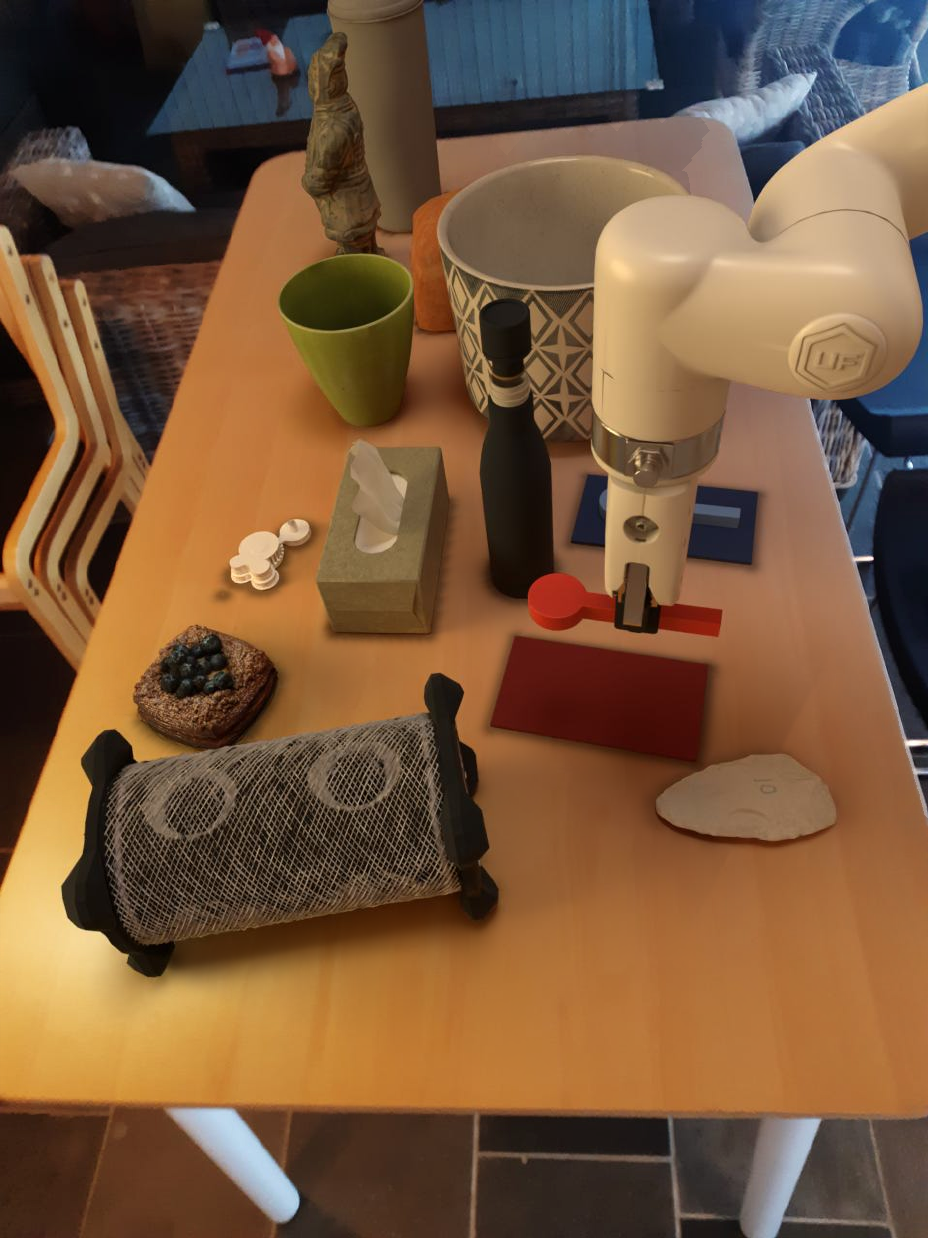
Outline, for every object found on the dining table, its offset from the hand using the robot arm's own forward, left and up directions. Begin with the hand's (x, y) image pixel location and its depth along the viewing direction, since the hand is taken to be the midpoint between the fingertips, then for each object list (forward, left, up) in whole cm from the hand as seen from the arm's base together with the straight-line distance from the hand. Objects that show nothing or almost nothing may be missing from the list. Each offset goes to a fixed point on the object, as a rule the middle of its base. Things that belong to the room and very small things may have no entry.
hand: (638, 616), depth 66 cm
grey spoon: (-1, -25, -15) cm, 29 cm away
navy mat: (0, -25, -15) cm, 29 cm away
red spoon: (+1, 0, 0) cm, 1 cm away
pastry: (+39, +5, -15) cm, 42 cm away
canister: (+46, -83, -15) cm, 96 cm away
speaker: (+23, +18, -15) cm, 33 cm away
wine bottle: (+13, -15, -15) cm, 25 cm away
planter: (+14, -44, -15) cm, 49 cm away
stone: (-10, +6, -15) cm, 19 cm away
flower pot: (+37, -38, -15) cm, 55 cm away
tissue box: (+26, -14, -15) cm, 34 cm away
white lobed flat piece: (+40, -12, -15) cm, 44 cm away
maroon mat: (+3, -2, -15) cm, 16 cm away
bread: (+22, -64, -15) cm, 69 cm away
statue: (+49, -67, -15) cm, 84 cm away
